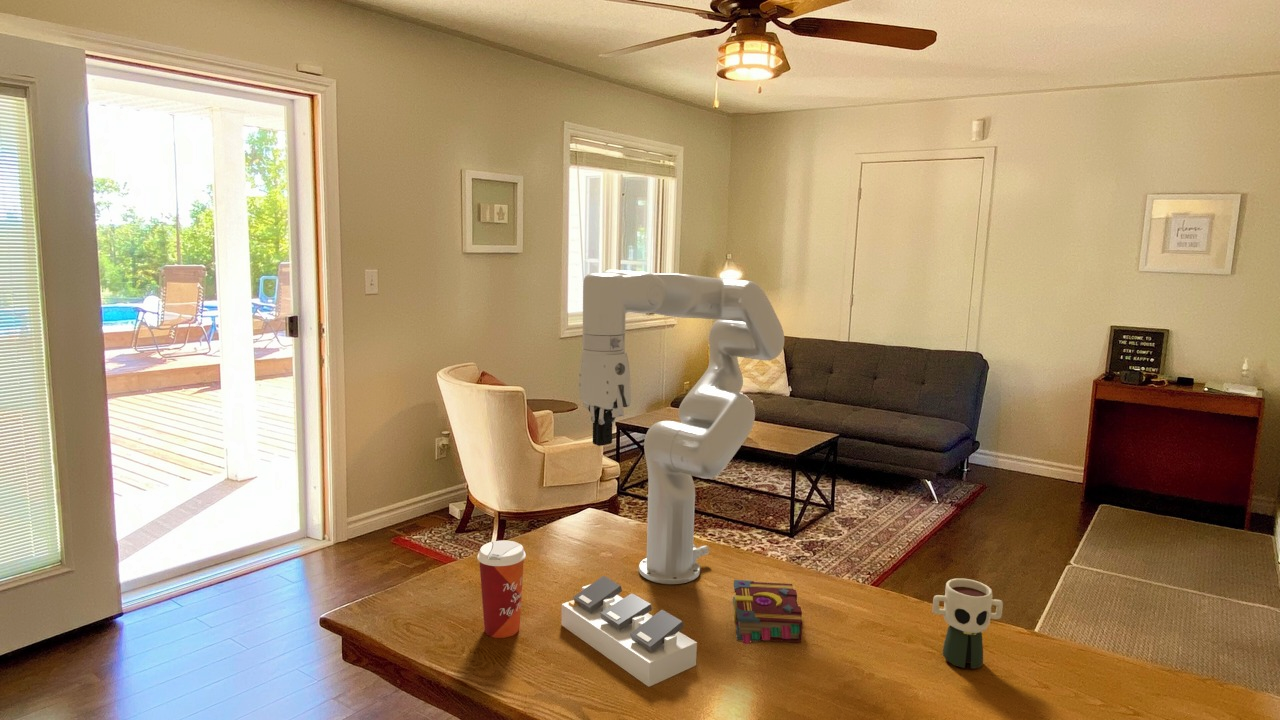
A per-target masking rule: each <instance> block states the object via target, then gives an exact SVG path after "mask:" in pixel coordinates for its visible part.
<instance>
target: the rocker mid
mask: <svg viewBox="0 0 1280 720" xmlns="http://www.w3.org/2000/svg"><path fill="white" fill-rule="evenodd" d="M622 598H623V597H622ZM651 611H652V603H650V602H648V601H646V600H645V599H643V598H642V597H640V596H638V595H636V594H634V593H633V592H632V593H630V594H628V595H626V597H625V596H624V598H623V599H622V600H620V601H618V602H617V603H615V604H614V605H612V606H610V607H609V608H607V609H605V610H604V611H602V612H601V613H600V614H601V619H603V620H604V621H606V622H607V623H609V624H610V625H612V626H613V627H615V628H616V629H618V630H619V631H620V630H622V629H623V628H625V627H626V626H628V625H629V624H631V623H632V618H634V617H637V616H640V615H645V614H646V613H650V612H651Z"/></svg>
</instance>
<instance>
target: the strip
mask: <svg viewBox="0 0 1280 720" xmlns="http://www.w3.org/2000/svg"><path fill="white" fill-rule="evenodd" d="M591 584H592V583H590V584H588V585H584V586H582V587H581V591H582V590H584V589H585V588H587V587H588V586H589V585H591ZM622 599H623V597H622V596H620V595H619V594H617V595H616V596H615V597H611V598H608V599H605V600H603V605H602V606H601V607H600V608H598V609H597V610H596V611H594V612H593V613H590V612H588V611H587V610H585V609H584V608H582V607H581V606H579V605H578V604H576V603H575V602H574V599H573V598H572V600H569V601H566V602H563V603H561V622H560V623H561V626H562V627H563V628H565V629H566V630H567V631H569V632H571V633H572V634H573V635H574V636H576V637H577V638H579V640H582V641H583V642H585V643H586V644H587V645H588V646H590V647H592V648H593V649H594V650H596V651H598V652H599V653H600V654H602V655H603V656H604V657H605V658H607V659H609V660H610V661H611V662H613V663H614V664H616V666H618V667H620V668H622V669H623V670H624V671H626V672H627V673H628V674H630V675H631V676H632V677H634V678H635V679H637V680H638V681H640V682H641V683H642V684H644V685H646V687H648V688H650V687H651V686H655V685H656V684H658V683H661V682H663V681H665V680H667V679H669V678H671V677H672V678H673V676H674V677H675V676H676V675H678V674H680V673H683V672H685V671H686V670H689V669H691V668H693V667H695V666H697V650H698V642H697V641H695V640H694V639H692V638H690V637H689V636H687V635H686V634H684V633H682V632H680V631H678V632H677V633H676V634H675V635H674V634H673V635H671V636H668V637H666V638H664V644H662V645H661V646H660V647H659V648H658V649H656V650H655V651H654V652H653V653H651V652H650V651H648V650H647V649H645V648H643V647H642V646H640V645H639V644H637V643H636V642H634V641H633V640H632V639H631V635H630V634H631V633H632V632H633V631H635V630H636V629H637V628H638V627H640V626H641V625H642V624H644V623H645V622H646V621H647V620H649V619H650V618H651V617H653V616H654V615H652V614H650V612H648V613H646V614H645V615H640V616H637V617H634V618H632V623H631V624H629V625H628V626H626V627H625V628H623V629H622V630H620V631H619V630H618V629H616V628H615V627H613V626H612V625H610V624H609V623H607V622H606V621H604V620H603V619H601V614H600V613H601V612H602V611H604V610H605V609H607V608H609V607H610V606H612V605H614V604H615V603H617V602H618V601H620V600H622Z"/></svg>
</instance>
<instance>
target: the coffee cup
mask: <svg viewBox="0 0 1280 720" xmlns="http://www.w3.org/2000/svg"><path fill="white" fill-rule="evenodd" d="M526 557H527V555H526V551H525V550H524V546H523V545H522V544H521V543H518V542H517V541H512V540H505V539H504V540H502V539H501V540H495V541H493V540H492V541H490V542H487V543H485V544H483V545H482V546H481V547H480V549H479V552H478V554H477V557H476V558H477V561H478V562H479V572H480V573H479V574H480V587H481V599H482V600H481V601H482V603H481V604H482V614H483V626H484V632H485V634H486V635H487V636H488V637H491V638H494V639H505V638H506V639H507V638H510V637H513V636H516V634H517V633H519V631H520V627H521V614H522V611H521V609H522V599H523V583H524V582H523V578H524V564H525V563H524V561H525V559H526Z"/></svg>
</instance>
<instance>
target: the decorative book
mask: <svg viewBox="0 0 1280 720" xmlns="http://www.w3.org/2000/svg"><path fill="white" fill-rule="evenodd" d="M733 590H734V593H735V596H732V601H733V610H734V611H733V612H734V613H733V621H734V622H735V623H736V625H735V631H736V641H738V642H739V641H741V642H742V644H747V645H748V644H749V645H750V644H751V642H760V641H767V642H768V641H769V642H782V643H783V642H785V643H802V638H803V637H802V635H803V634H802V633H803V617H802V616H803V615H802V614H803V611H802V608H801V606H799V604H798V601H797V600H798V593H797V590H796V589H794V586H793V584H792V583H783V582H782V583H778V582H762V581H761V582H760V581H754V580H746V579H745V580H744V579H743V580H742V579H734V580H733Z"/></svg>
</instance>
